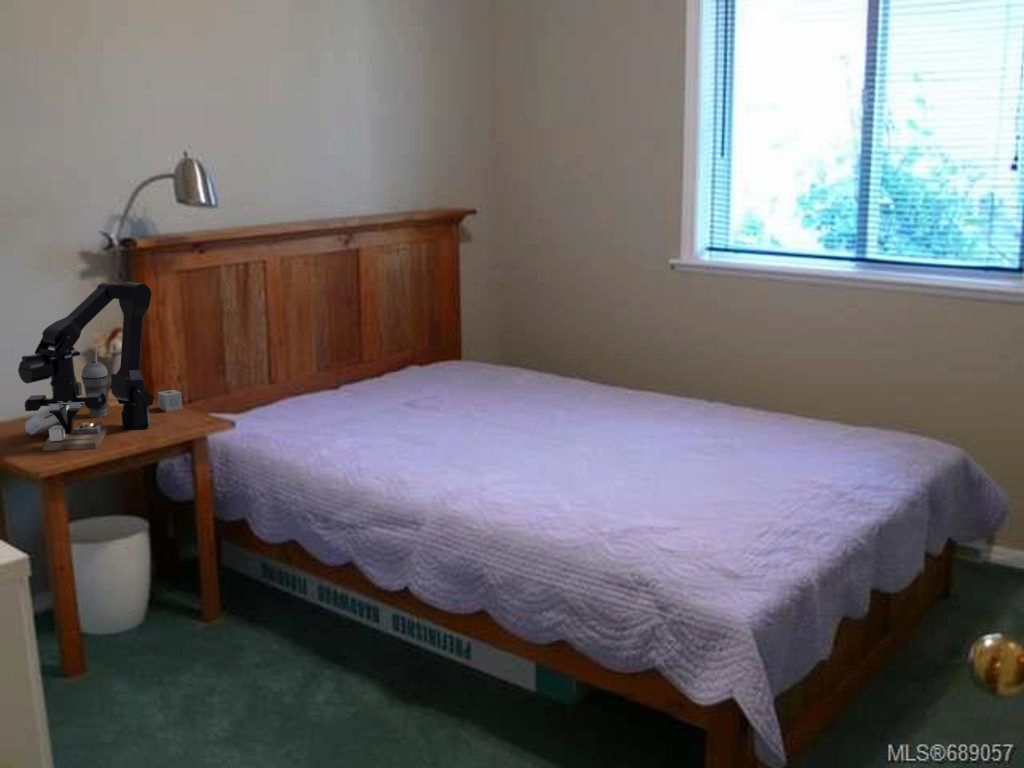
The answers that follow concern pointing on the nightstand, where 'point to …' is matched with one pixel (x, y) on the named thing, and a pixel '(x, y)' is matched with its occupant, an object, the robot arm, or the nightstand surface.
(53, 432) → the slider knob
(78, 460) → the nightstand surface
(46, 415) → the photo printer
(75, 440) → the control panel
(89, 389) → the beverage cup
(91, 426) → the brass button
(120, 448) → the nightstand surface
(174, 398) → the dice cube
